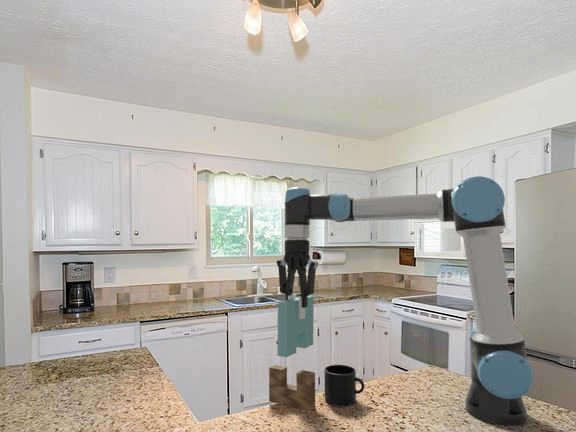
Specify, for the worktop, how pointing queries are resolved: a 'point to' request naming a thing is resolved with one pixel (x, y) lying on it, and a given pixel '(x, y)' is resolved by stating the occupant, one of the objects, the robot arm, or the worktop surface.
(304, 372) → the walnut u-shaped block
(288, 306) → the teal flat block
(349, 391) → the mug
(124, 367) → the worktop surface
